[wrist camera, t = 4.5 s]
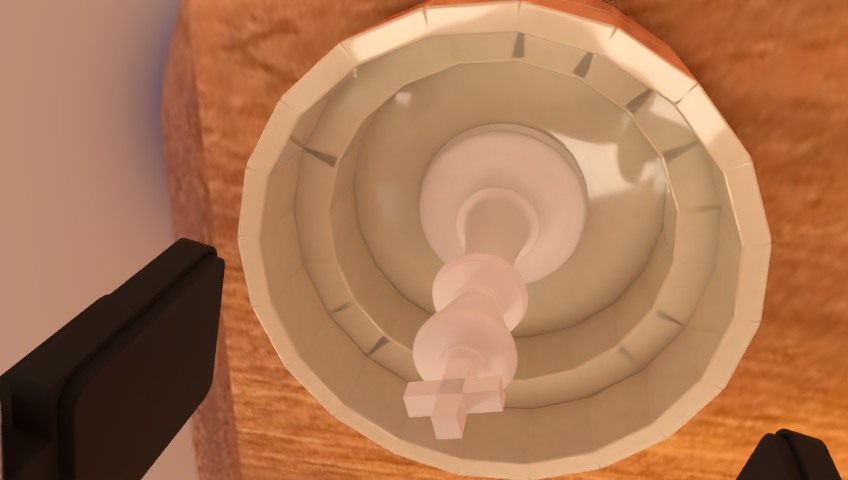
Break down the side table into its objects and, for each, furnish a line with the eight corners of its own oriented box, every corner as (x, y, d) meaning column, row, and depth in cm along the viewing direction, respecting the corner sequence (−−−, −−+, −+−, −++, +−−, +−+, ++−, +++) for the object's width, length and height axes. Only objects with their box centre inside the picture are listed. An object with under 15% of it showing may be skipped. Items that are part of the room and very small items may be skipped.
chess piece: (599, 268, 20) (619, 538, 11) (440, 287, 22) (347, 540, 13) (575, 108, 18) (576, 278, 10) (403, 139, 20) (264, 314, 11)
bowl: (284, 307, 24) (217, 396, 19) (346, -70, 18) (271, -68, 14) (628, 416, 23) (642, 536, 18) (804, 54, 17) (886, 99, 13)
